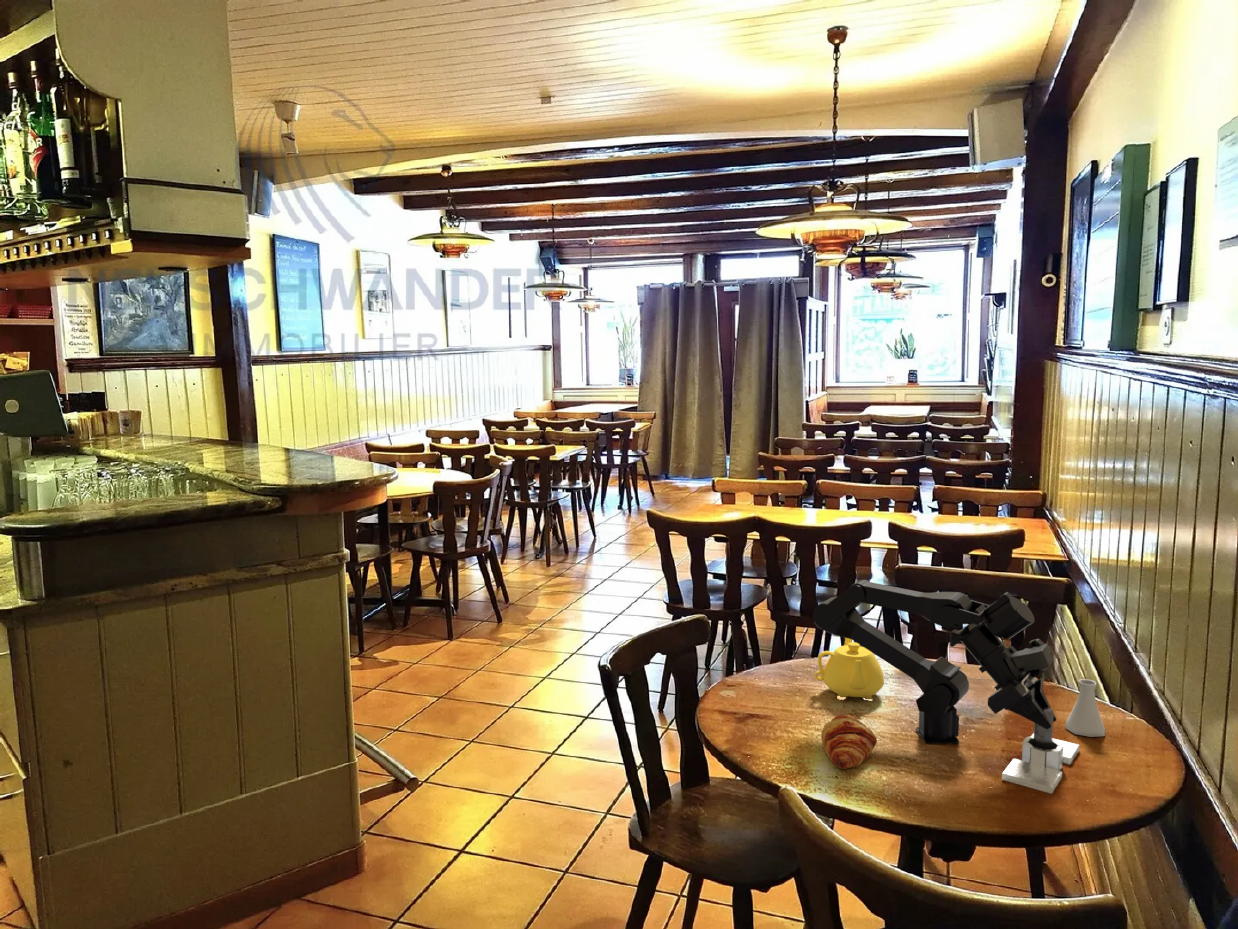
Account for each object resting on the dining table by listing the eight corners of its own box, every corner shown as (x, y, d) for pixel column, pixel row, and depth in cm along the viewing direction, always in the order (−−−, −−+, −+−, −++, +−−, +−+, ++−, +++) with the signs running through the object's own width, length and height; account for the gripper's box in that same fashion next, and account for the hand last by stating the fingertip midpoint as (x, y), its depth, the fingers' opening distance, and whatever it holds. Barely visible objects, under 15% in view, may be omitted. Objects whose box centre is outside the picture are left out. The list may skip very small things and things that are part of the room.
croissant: (835, 742, 174) (817, 707, 174) (881, 725, 171) (863, 689, 171) (828, 791, 154) (807, 751, 154) (881, 772, 151) (859, 731, 151)
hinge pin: (1037, 761, 154) (1039, 713, 153) (1029, 753, 157) (1032, 706, 156) (1054, 761, 154) (1056, 713, 153) (1046, 753, 157) (1048, 706, 156)
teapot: (810, 676, 201) (811, 628, 199) (875, 678, 199) (877, 630, 197) (818, 710, 181) (819, 658, 180) (891, 713, 179) (892, 660, 178)
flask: (1111, 739, 166) (1114, 690, 164) (1070, 737, 167) (1073, 687, 166) (1098, 724, 173) (1101, 676, 171) (1059, 721, 174) (1062, 674, 173)
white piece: (1002, 779, 151) (1002, 758, 150) (1033, 739, 166) (1034, 719, 166) (1051, 793, 146) (1052, 771, 145) (1079, 750, 161) (1080, 730, 161)
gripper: (1009, 642, 148) (1077, 720, 143) (1038, 616, 162) (1100, 686, 157) (961, 675, 154) (1024, 751, 149) (993, 647, 168) (1051, 716, 163)
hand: (1052, 724), depth 154 cm, fingers closed on hinge pin, 3 cm apart
